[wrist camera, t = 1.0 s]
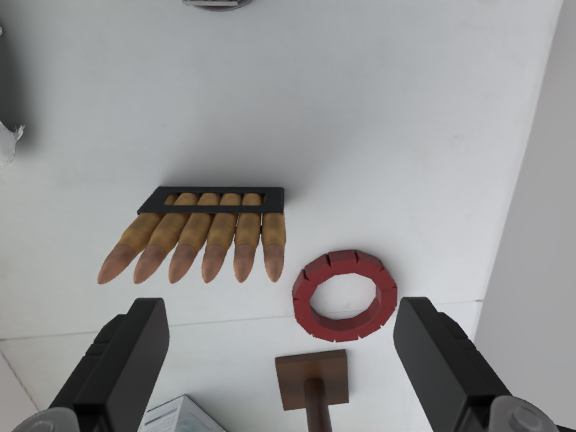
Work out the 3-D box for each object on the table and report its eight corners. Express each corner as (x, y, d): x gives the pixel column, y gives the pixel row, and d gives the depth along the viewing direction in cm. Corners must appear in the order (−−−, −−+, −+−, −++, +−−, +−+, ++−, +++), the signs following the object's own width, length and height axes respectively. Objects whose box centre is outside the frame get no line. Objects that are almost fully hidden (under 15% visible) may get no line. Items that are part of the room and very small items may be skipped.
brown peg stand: (275, 357, 35) (277, 485, 24) (344, 349, 35) (378, 473, 24) (283, 403, 38) (288, 533, 27) (347, 395, 38) (377, 522, 27)
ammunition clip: (284, 187, 27) (293, 266, 16) (283, 207, 27) (292, 295, 16) (157, 186, 26) (74, 268, 15) (160, 207, 27) (84, 298, 16)
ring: (287, 257, 30) (288, 266, 28) (392, 244, 29) (399, 253, 28) (298, 335, 34) (299, 347, 32) (390, 324, 34) (395, 335, 32)
